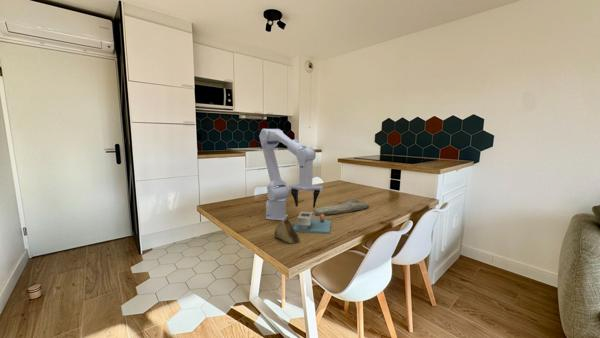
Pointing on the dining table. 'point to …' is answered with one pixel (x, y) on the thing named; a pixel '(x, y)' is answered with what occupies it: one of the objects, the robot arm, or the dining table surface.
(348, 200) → the long grey stone
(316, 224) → the board
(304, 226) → the metal knob block
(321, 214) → the copper cylinder peg
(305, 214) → the silver block with hole
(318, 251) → the dining table surface
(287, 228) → the rock
